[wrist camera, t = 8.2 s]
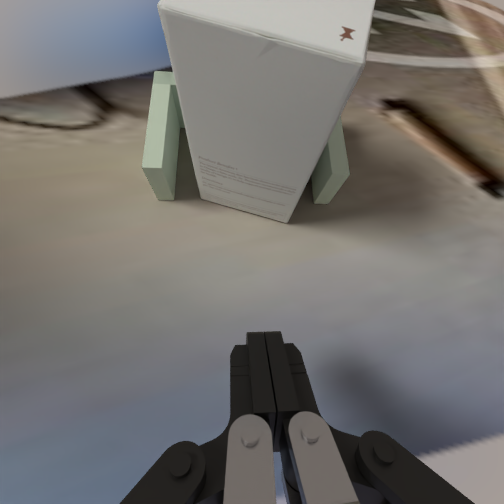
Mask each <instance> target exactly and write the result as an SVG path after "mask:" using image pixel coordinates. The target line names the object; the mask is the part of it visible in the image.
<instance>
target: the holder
mask: <svg viewBox="0 0 504 504" xmlns="http://www.w3.org/2000/svg"><path fill="white" fill-rule="evenodd" d="M180 128H185V125H184V120H183V115H182V110H181V106H180V101H179V97H178V92H177V87H176V83H175V78H174V74H173V72H161V71H155V72H154V80H153V87H152V94H151V102H150V109H149V117H148V124H147V132H146V139H145V147H144V154H143V162H142V169H143V171H144V173H145V175H146V177H147V179H148V181H149V183H150V185H151V187H152V189H153V191H154V193H155V195H156V197H157V199H158V200H174V197H175V185H176V173H177V161H178V149H179V137H180ZM349 175H350V171H349V165H348V159H347V153H346V147H345V141H344V135H343V128H342V122H341V116H340V117H339V119H338V121H337V123H336V125H335V127H334V129H333V132H332V134H331V136H330V138H329V140H328V142H327V144H326V146H325V148H324V150H323V152H322V154H321V156H320V158H319V160H318V162H317V164H316V166H315V168H314V170H313V172H312V174H311V181H312V191H313V200H314V204H329V202H330V201H331V200H332V198H333V197H334V196H335V194H336V193H337V192H338V190H339V189H340V187H341V186H342V185H343V183H344V182H345V181H346V179H347V178H348V176H349Z"/></svg>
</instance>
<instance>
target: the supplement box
mask: <svg viewBox="0 0 504 504" xmlns="http://www.w3.org/2000/svg"><path fill="white" fill-rule="evenodd" d="M374 5H375V0H160V2H159V3H158V5H157V6H158V12H159V16H160V19H161V23H162V27H163V31H164V35H165V39H166V43H167V47H168V51H169V56H170V60H171V64H172V69H173V74H174V78H175V83H176V87H177V92H178V97H179V101H180V106H181V110H182V115H183V120H184V125H185V129H186V134H187V139H188V143H189V148H190V153H191V157H192V161H193V166H194V171H195V175H196V179H197V183H198V188H199V192H200V197H201V199H204V200H208V201H211V202H214V203H218V204H221V205H225V206H228V207H232V208H235V209H239V210H242V211H246V212H249V213H253V214H256V215H260V216H263V217H267V218H270V219H274V220H277V221H281V222H284V223H288V221H289V219H290V217H291V215H292V213H293V211H294V209H295V207H296V205H297V203H298V201H299V199H300V197H301V195H302V193H303V191H304V189H305V187H306V184H307V182H308V180H309V178H310V176H311V174H312V172H313V170H314V168H315V166H316V164H317V162H318V160H319V158H320V156H321V154H322V152H323V150H324V148H325V146H326V144H327V142H328V140H329V138H330V136H331V134H332V132H333V129H334V127H335V125H336V123H337V121H338V119H339V117H340V115H341V113H342V111H343V109H344V107H345V105H346V103H347V101H348V99H349V97H350V95H351V93H352V91H353V89H354V87H355V85H356V83H357V81H358V79H359V77H360V75H361V73H362V71H363V69H364V66H365V63H366V56H367V49H368V42H369V36H370V30H371V24H372V17H373V11H374Z"/></svg>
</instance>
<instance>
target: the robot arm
mask: <svg viewBox="0 0 504 504" xmlns="http://www.w3.org/2000/svg"><path fill="white" fill-rule="evenodd" d="M273 452H280V453H281V460H282V472H281V477H282V483H283V487H284V492H285V497H286V502H287V504H474V503H473V502H472V501H471V500H469V499H468V498H467V497H465V496H464V495H463V494H462V493H461V492H459V491H458V490H456V489H455V488H454V487H453V486H452V485H450V484H449V483H448V482H447V481H445V480H444V479H443V478H442V477H440V476H439V475H438V474H436V473H435V472H434V471H433V470H432V469H430V468H429V467H428V466H426V465H425V464H424V463H423V462H421V461H420V460H419V459H418V458H416V457H415V456H414V455H413V454H411V453H410V452H409V451H408V450H406V449H405V448H404V447H403V446H401V445H400V444H399V443H397V442H396V441H395V440H394V439H392V438H391V437H390V436H388V435H386V434H385V433H382V432H379V431H368V432H366V433H364V434H363V435H362V436H361V437H357V436H354V435H351V434H347V433H344V432H341V431H338V430H336V429H334V428H333V427H331V426H330V425H329V424H328V423H327V422H326V421H325V420H324V419H323V418H322V416H321V415H320V413H319V410H318V408H317V404H316V401H315V398H314V395H313V391H312V388H311V385H310V382H309V378H308V375H307V372H306V369H305V365H304V362H303V359H302V356H301V352H300V351H299V350H298V349H297V348H296V346H295V345H294V344H293V343H286V344H284V342H283V338H282V334H281V332H280V331H273V332H264V333H263V332H247V335H246V345H235V347H234V349H233V351H232V353H231V355H230V420H229V423H228V426H227V427H226V429H225V430H224V432H223V433H222V434H221V435H220V436H218V437H217V438H215V439H214V440H212V441H209V442H207V443H205V444H202V445H200V446H198V445H197V444H195V443H193V442H190V441H182V442H178V443H176V444H174V445H172V446H171V447H169V448H168V449H167V450H166V451H165V452H164V453H163V454H162V456H161V457H160V458H159V459H158V460H157V461H156V463H155V464H154V465H153V466H152V467H151V468H150V469H149V471H148V472H147V473H146V474H145V475H144V476H143V477H142V479H141V480H140V481H139V482H138V483H137V484H136V485H135V487H134V488H133V489H132V490H131V491H130V492H129V494H128V495H127V496H126V497H125V498H124V499H123V500H122V502H121V503H120V504H276V492H275V476H274V461H273Z"/></svg>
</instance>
